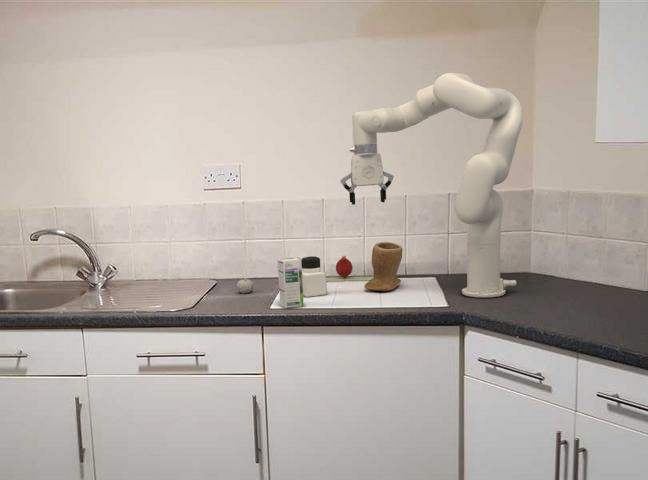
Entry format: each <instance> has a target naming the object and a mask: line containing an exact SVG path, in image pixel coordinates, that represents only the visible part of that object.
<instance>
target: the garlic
mask: <svg viewBox="0 0 648 480" xmlns="http://www.w3.org/2000/svg"><path fill="white" fill-rule="evenodd" d="M236 289H237V291H238V292H239V293H241V294H243V295H245V294H249V293H251V292H252V290H253V289H254V282H253V281H252V280H250V279H249V278H247V277H243V279H240V280H239V281H238V282H237V283H236Z"/></svg>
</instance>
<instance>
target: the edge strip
mask: <svg viewBox="0 0 648 480" xmlns="http://www.w3.org/2000/svg"><path fill="white" fill-rule="evenodd" d="M373 278H374V275H370V276H368V275H367V276H365V275H363V276H347V277H346V278H342V277H341V276H331V277H330V276H329V277H327V276H326V282H357V281H370V280H371V279H373Z"/></svg>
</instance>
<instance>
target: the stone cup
mask: <svg viewBox="0 0 648 480" xmlns="http://www.w3.org/2000/svg"><path fill="white" fill-rule="evenodd" d="M402 258H403V247H402V246H401V244H398V243H395V242H390V241H380V242H377V243H375V244H374V245H373V247H372V250H371V266H372V270H373V271H372V272H373V276H374V278H373V279H371V280H368V281H367V282H366V283H365V284H364V288H365V289H366V290H369V291H377V292H378V291H379V292H380V291H381V292H387V291H392V290H393V289H395V288H397V286H398V285H399V284H400V283H401V282H402V279H400V278H399V277H397V274H398V271H399V268H400V265H401V261H402V260H403V259H402Z"/></svg>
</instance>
